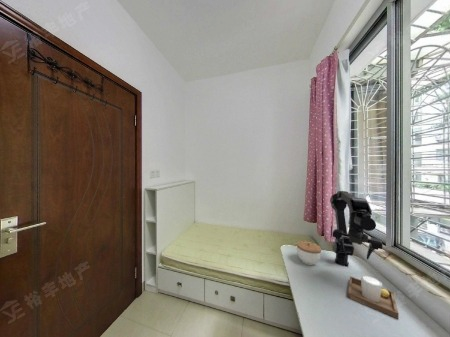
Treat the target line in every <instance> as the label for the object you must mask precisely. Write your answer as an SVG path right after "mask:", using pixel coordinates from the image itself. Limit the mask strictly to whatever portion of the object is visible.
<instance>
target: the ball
mask: <svg viewBox="0 0 450 337" xmlns="http://www.w3.org/2000/svg"><path fill="white" fill-rule="evenodd" d="M387 290H388V289H386V288H384V289H382V290H381V295H382V296H383V297H389V292H388V291H387Z"/></svg>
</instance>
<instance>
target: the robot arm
mask: <svg viewBox="0 0 450 337" xmlns="http://www.w3.org/2000/svg"><path fill="white" fill-rule="evenodd" d="M329 203H330V205H331V208H332V209H333V211H334V213H335V214H334V215H335V220H336V221H335V222H336V229H333V230H332V234H331V235H332V237H333V238H335V239H334V243H333V245H332V252H334V254H335V259H334V261H333V262H334V263H335V264H336V265H337V264H338V265H340V266H343V267H345V268H348V267H349V265H350V262H349V256H351V257H353V255H354V253H355V252H354V251H355V248H354V245H353V244H357V245H362V244H364V243H367V244H368V248H367V252H366V253H367V254H366V260H369V258H370V257H371V255H372V253H373V252H374V251H375V250H377V251H378V250H383V242H382V240H381V239H380V238H377V237H370V238H369V234H365V231H367V232H371V231H374V230H375V229H376V227H377V224H376V221H375V220H374V219H373V218H371V217H372V215H373V213H372V212H373V211H372V208H371V206H370V204H369V202H368V200H367V199H366V198H364V197H363V198H362V197H357V196H354V194H351V193H349V191H345V190H339V191H337V192H336V193H334V194H332V195H331V197H330V198H329ZM346 208H348V209H349V210H348V212H349V221H348V224H349V225H348V231H347V224H346V223H347V222H346V214H345V210H346Z"/></svg>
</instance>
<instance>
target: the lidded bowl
mask: <svg viewBox="0 0 450 337" xmlns="http://www.w3.org/2000/svg"><path fill="white" fill-rule="evenodd" d="M296 252H297V256H298V258H299V259H300V260H301V262H302V263H304V264H305V265H309V266H314V265H315V264H317V263H318V262H319V261H320V259H321V255H322V253H321V252H322V248H321V246H320V245H318V244H316V243H314V242H311V241H305V240H303V241H302V240H300V241H297V242H296Z"/></svg>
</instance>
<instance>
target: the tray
mask: <svg viewBox="0 0 450 337" xmlns="http://www.w3.org/2000/svg"><path fill="white" fill-rule="evenodd" d="M382 289H385V288H383V287H382ZM386 290H387V291H388V292H389V297H383V296H382V295H381V296H380V301H379V302H373V301H371V300H368V299H367V298H365V297H364V296H363V295H362V287H361V279H359V278H356V277H353V276H349V282H348V292H347V298H348V299H351V300H353V301H355V302H357V303H360V304H362V305H364V306H367V307H369V308H371V309H373V310H376V311H378V312H381V313H383V314H385V315H388V316H390V317H393V318H395V319H397V320H398V319H399V314H400V313H399V310H398V307H397V306H398V305H397V302H396V298H395V293H394V291H392V290H389V289H386Z"/></svg>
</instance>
